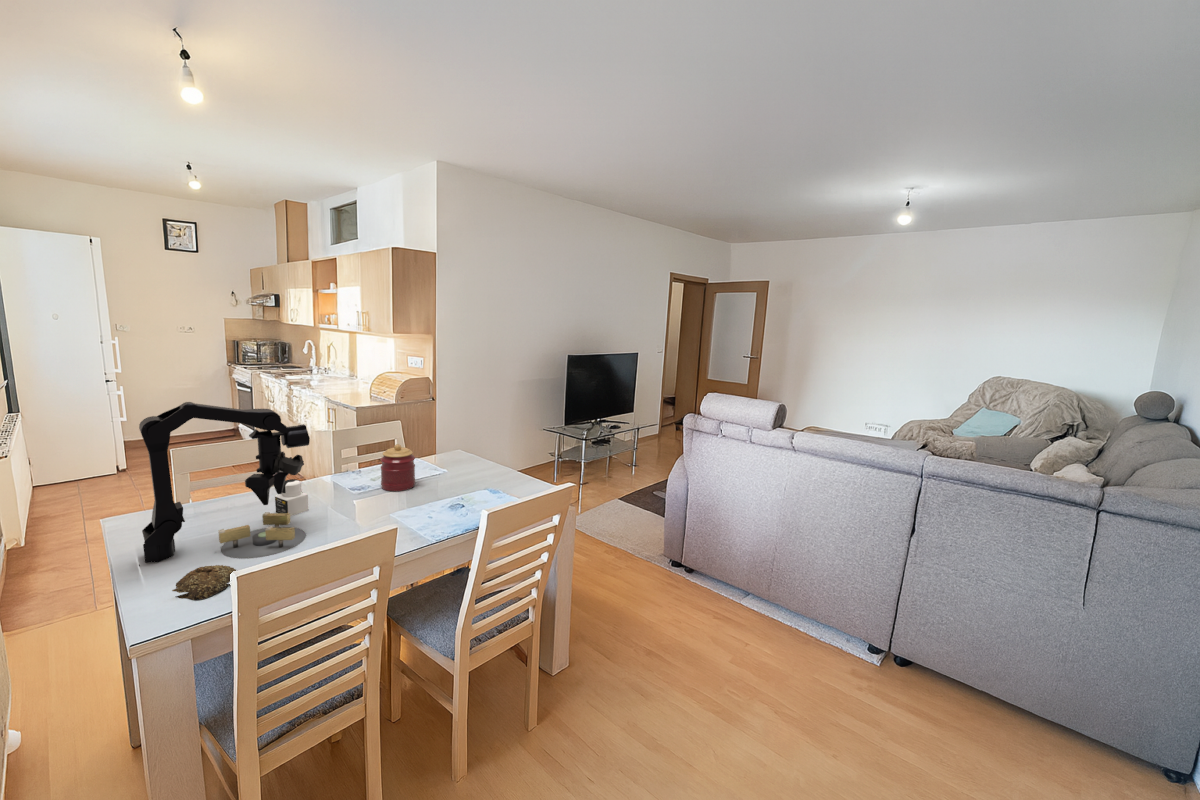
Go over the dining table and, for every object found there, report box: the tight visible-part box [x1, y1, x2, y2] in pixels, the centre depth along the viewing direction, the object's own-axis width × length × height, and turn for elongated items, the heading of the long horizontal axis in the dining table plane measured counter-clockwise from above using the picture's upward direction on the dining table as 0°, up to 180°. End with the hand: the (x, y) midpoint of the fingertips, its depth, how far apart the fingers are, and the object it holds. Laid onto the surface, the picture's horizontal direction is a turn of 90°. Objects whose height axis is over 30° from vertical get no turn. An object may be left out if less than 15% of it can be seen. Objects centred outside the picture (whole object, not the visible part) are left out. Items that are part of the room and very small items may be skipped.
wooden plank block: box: [262, 511, 291, 528], centre depth 152 cm, size 2×7×6 cm, turn 97°
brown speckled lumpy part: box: [171, 564, 237, 601], centre depth 123 cm, size 13×12×5 cm
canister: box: [380, 443, 416, 492], centre depth 198 cm, size 13×13×18 cm
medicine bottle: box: [274, 478, 309, 517], centre depth 167 cm, size 7×7×12 cm
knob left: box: [217, 524, 251, 548], centre depth 141 cm, size 2×7×6 cm, turn 137°
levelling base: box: [220, 525, 307, 560], centre depth 145 cm, size 21×21×4 cm
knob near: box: [265, 525, 296, 548], centre depth 142 cm, size 2×7×6 cm, turn 97°
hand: (273, 499), depth 151 cm, fingers open, 9 cm apart
